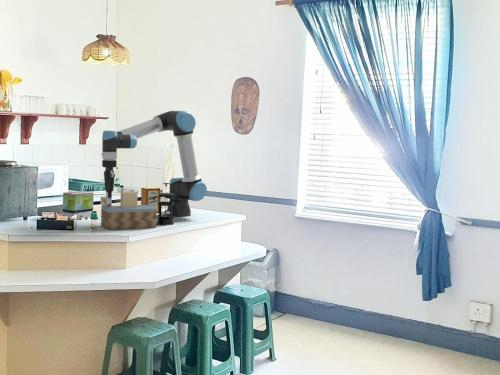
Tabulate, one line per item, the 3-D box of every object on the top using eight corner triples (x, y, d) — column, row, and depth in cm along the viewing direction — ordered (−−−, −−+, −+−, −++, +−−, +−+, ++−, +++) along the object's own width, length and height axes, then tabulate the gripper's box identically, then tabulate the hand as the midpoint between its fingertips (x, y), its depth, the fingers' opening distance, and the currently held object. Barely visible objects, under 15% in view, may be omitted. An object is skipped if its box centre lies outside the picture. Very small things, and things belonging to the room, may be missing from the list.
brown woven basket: (145, 222, 348) (145, 204, 347) (155, 227, 334) (156, 208, 332) (99, 224, 336) (99, 205, 335) (108, 230, 321) (108, 210, 320)
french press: (164, 225, 341) (165, 184, 338) (152, 223, 346) (153, 182, 344) (179, 223, 350) (180, 183, 347) (167, 221, 355) (168, 181, 353)
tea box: (74, 219, 349) (75, 193, 347) (61, 218, 354) (62, 192, 352) (93, 216, 362) (94, 191, 360) (81, 215, 367) (81, 190, 365)
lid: (147, 210, 345) (147, 190, 344) (156, 213, 333) (156, 193, 332) (101, 211, 332) (101, 191, 331) (108, 215, 320) (108, 194, 319)
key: (106, 203, 340) (106, 196, 340) (111, 206, 332) (111, 198, 332) (100, 204, 338) (100, 196, 338) (105, 206, 330) (105, 198, 330)
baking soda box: (154, 211, 391) (154, 186, 389) (159, 213, 386) (160, 187, 384) (140, 212, 385) (141, 187, 383) (146, 214, 380) (146, 188, 378)
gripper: (99, 158, 332) (98, 202, 334) (105, 160, 321) (105, 205, 323) (112, 158, 336) (112, 202, 338) (120, 160, 324) (119, 205, 327)
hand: (108, 203), depth 331 cm, fingers closed
